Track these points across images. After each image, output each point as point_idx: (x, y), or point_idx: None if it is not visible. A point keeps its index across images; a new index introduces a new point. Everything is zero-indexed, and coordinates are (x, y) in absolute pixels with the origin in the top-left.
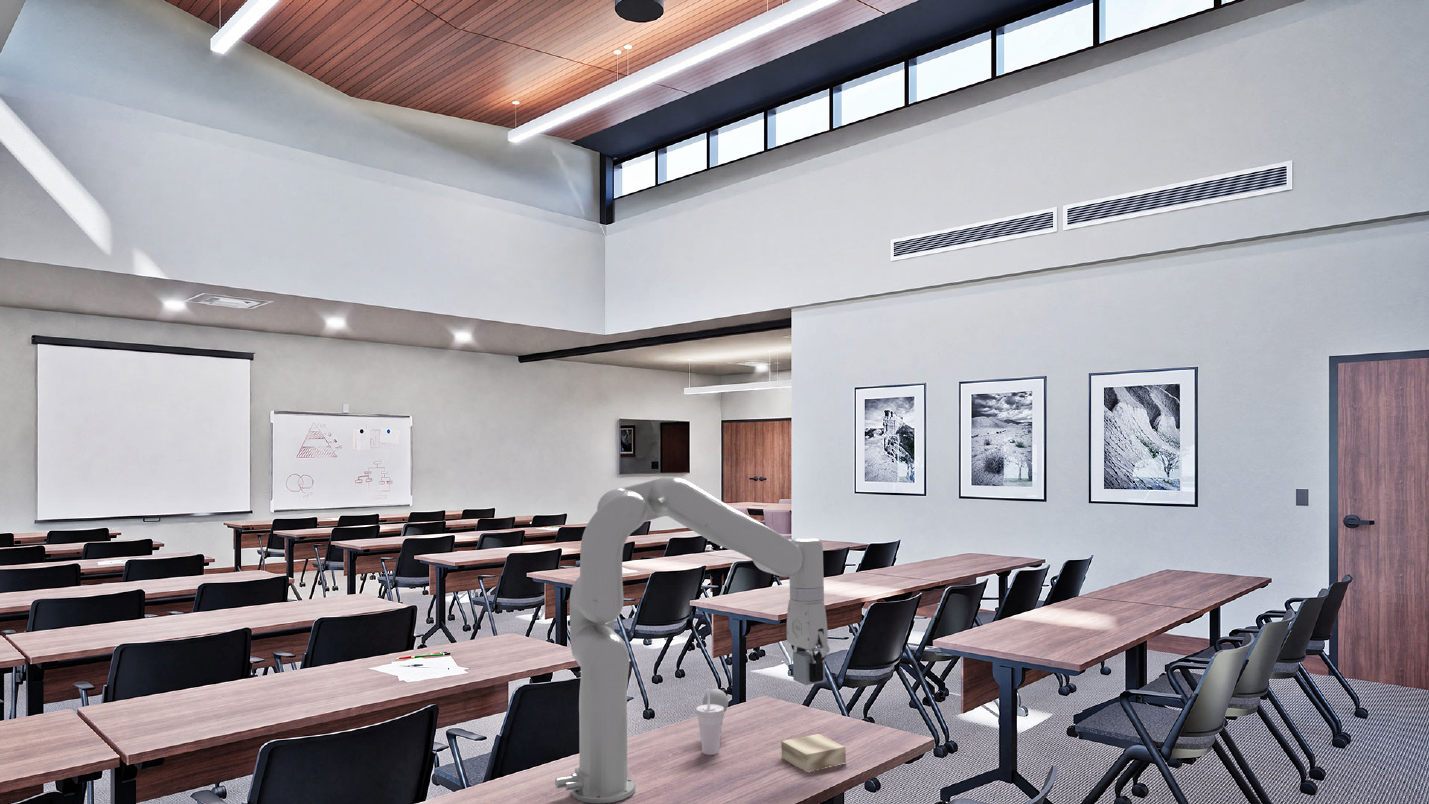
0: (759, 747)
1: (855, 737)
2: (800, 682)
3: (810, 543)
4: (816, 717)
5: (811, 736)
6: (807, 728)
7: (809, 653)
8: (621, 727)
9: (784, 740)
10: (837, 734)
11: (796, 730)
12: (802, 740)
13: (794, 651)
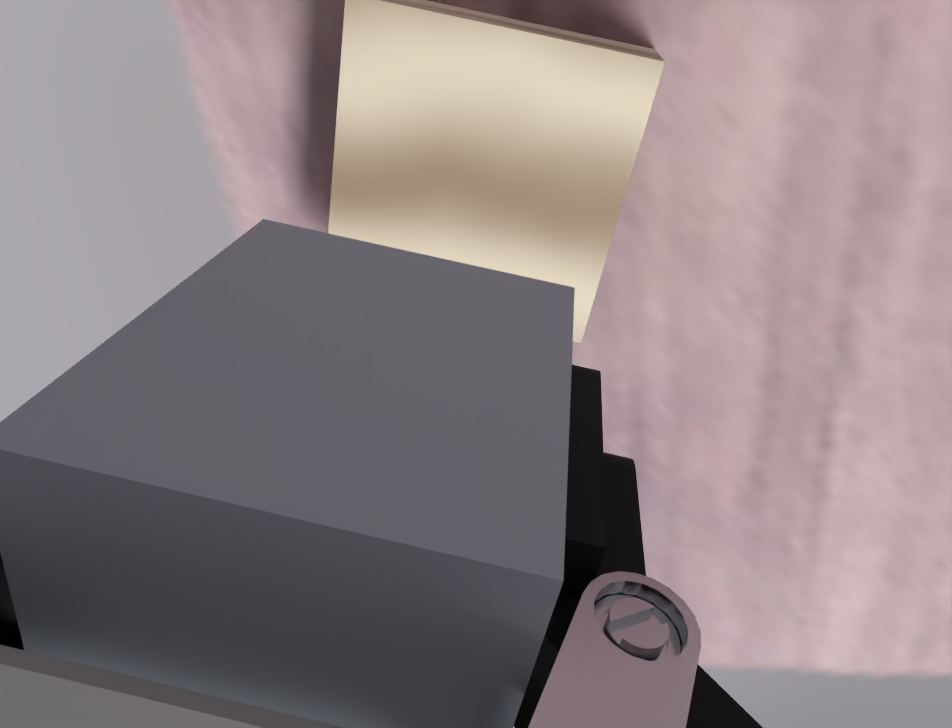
0: (901, 73)
1: None
2: (395, 250)
3: None
4: (907, 617)
5: (577, 277)
6: (847, 489)
7: (230, 691)
8: None
9: (655, 88)
10: (667, 512)
11: (881, 436)
12: (565, 182)
13: (646, 681)
